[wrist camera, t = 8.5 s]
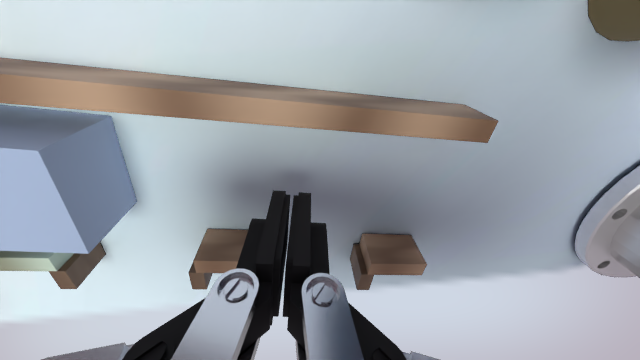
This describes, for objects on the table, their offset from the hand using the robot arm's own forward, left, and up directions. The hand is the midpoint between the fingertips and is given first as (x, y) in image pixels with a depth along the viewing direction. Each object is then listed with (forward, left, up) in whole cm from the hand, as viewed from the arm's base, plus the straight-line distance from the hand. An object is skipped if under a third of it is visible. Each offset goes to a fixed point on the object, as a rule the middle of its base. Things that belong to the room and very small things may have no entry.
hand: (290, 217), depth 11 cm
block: (+12, -1, -4) cm, 12 cm away
